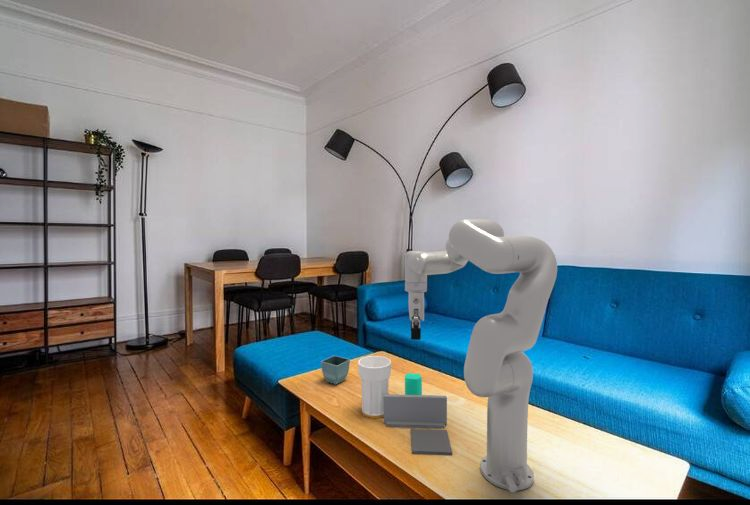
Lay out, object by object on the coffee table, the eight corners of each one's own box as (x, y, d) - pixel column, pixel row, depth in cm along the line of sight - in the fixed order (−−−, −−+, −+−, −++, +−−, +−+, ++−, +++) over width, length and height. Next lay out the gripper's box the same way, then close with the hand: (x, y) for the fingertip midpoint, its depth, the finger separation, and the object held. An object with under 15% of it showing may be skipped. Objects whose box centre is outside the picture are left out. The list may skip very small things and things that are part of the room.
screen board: (447, 428, 109) (447, 400, 108) (383, 426, 110) (383, 398, 110) (445, 420, 114) (445, 393, 113) (384, 418, 115) (383, 391, 115)
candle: (421, 410, 121) (421, 375, 120) (403, 408, 122) (403, 374, 121) (422, 401, 126) (422, 369, 126) (405, 400, 128) (405, 368, 127)
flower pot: (350, 380, 146) (350, 359, 145) (337, 388, 138) (337, 365, 138) (334, 375, 150) (334, 355, 150) (320, 383, 143) (320, 361, 142)
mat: (452, 455, 96) (452, 452, 96) (411, 453, 97) (411, 450, 97) (446, 432, 107) (446, 429, 107) (410, 431, 108) (410, 428, 108)
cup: (351, 411, 120) (351, 362, 119) (374, 400, 128) (373, 353, 127) (375, 424, 112) (375, 370, 111) (398, 410, 120) (398, 361, 119)
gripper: (428, 291, 112) (427, 343, 114) (425, 282, 130) (425, 328, 131) (404, 290, 113) (404, 342, 114) (405, 282, 130) (404, 327, 131)
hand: (415, 334), depth 123 cm, fingers open, 9 cm apart
